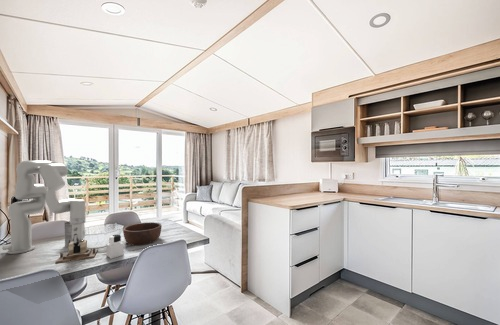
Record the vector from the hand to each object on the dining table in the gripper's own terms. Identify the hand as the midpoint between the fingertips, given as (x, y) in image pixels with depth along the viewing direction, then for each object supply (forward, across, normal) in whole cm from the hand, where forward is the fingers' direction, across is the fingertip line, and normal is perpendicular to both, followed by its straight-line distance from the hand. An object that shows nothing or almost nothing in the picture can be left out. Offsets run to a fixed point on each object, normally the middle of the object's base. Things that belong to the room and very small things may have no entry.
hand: (77, 251), depth 139 cm
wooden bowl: (+4, +15, -35) cm, 38 cm away
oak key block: (+1, 0, 0) cm, 1 cm away
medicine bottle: (+3, -8, -20) cm, 22 cm away
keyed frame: (+3, 0, 0) cm, 3 cm away
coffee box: (+4, +28, +8) cm, 29 cm away
